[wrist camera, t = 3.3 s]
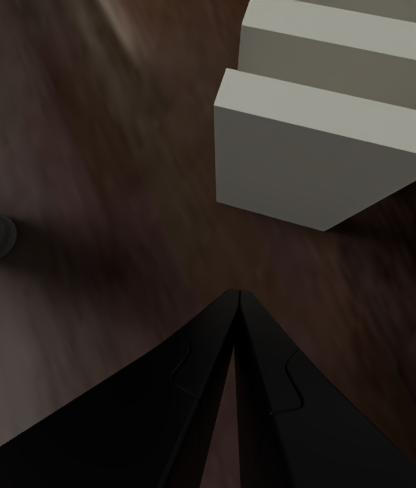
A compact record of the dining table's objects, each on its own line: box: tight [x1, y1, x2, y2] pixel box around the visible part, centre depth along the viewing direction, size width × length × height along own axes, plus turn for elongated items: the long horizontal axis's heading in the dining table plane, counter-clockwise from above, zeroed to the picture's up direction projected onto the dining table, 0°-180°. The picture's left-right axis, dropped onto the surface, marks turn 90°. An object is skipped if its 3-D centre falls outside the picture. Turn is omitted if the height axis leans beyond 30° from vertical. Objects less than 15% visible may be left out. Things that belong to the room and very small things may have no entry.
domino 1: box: [214, 68, 416, 231], centre depth 16 cm, size 2×10×12 cm, turn 73°
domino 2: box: [238, 0, 416, 110], centre depth 17 cm, size 2×10×12 cm, turn 73°
